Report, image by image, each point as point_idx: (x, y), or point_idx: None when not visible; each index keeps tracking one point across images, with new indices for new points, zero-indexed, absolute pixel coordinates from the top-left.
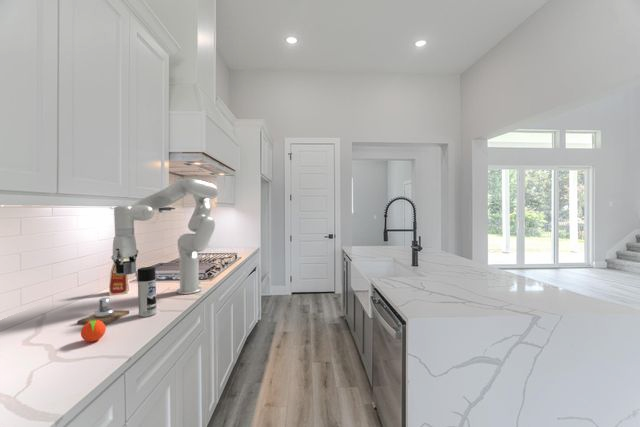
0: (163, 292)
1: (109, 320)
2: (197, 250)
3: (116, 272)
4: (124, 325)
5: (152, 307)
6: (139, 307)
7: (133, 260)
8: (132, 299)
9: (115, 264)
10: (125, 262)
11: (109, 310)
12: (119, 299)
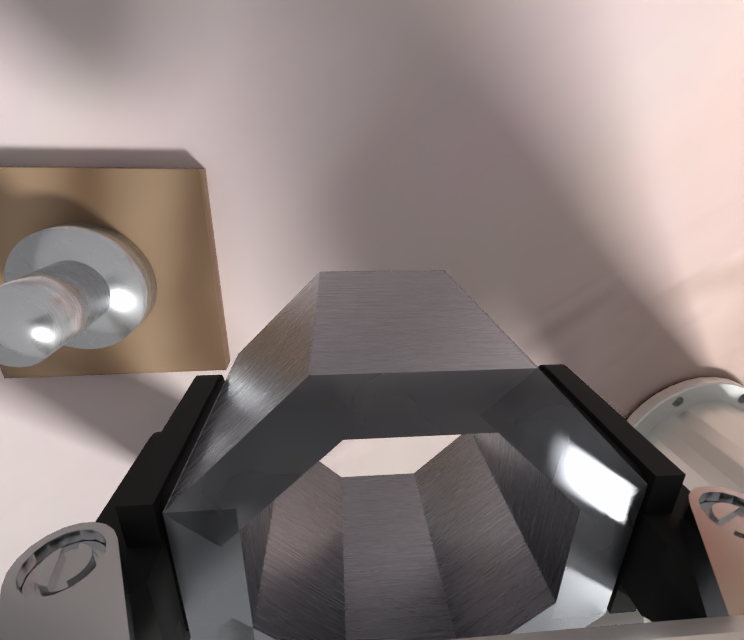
0: (697, 292)
1: (34, 376)
2: None
3: (194, 382)
4: (48, 463)
5: None
6: None
7: (639, 590)
8: (541, 166)
9: (64, 533)
10: (538, 457)
11: (92, 325)
12: (556, 36)
